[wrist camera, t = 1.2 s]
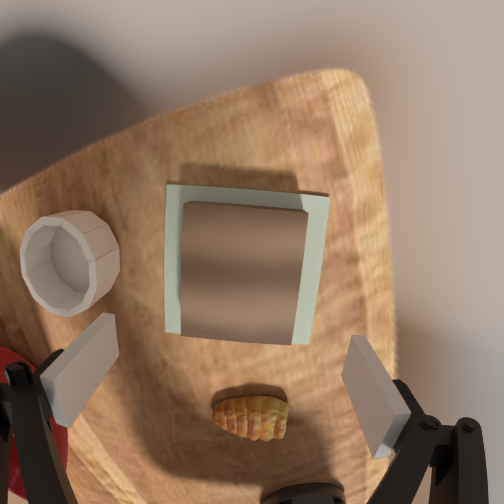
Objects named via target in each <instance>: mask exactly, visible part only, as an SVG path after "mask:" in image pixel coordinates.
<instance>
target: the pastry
mask: <svg viewBox="0 0 504 504" xmlns="http://www.w3.org/2000/svg"><path fill="white" fill-rule="evenodd" d="M288 408H289V405H288V404H287V403H286V402H284V401H282V400H279V399H277V398H276V397H273V396H271V397H268V396H263V395H259V396H246V397H238V398H230V399H226V400H224V401H221V402H219V403H217V404H216V405H215V406H214V410H213V422H214V423H215V424H217V426H219V427H220V428H222V429H224V430H226V431H227V432H228V433H234V434H236V435H237V436H239V437H246V438H248V439H250V440H253V441H254V440H257V439H261V440H262V441H264V442H268V441H270V440H271V439H273V438H278V439H282V438H283V436H284V434H285V430H286V422H287V414H288Z"/></svg>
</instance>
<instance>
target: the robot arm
mask: <svg viewBox="0 0 504 504" xmlns="http://www.w3.org/2000/svg"><path fill="white" fill-rule="evenodd" d="M118 356H119V350H118V342H117V334H116V325H115V315H114V314H110V313H104V312H103V313H102V314H100V315H99V316H98V317H97V318H96V319H95V320H94V321H93V322H92V323H91V324H90V325H89V326H88V327H87V328H86V329H85V330H84V331H83V332H82V333H81V334H80V335H79V336H78V337H77V338H76V339H75V340H74V341H73V342H72V343H71V344H70V345H69V346H68V347H67V348H66V349H65V350H63V349H59V350H57V351H55V352H53V353H52V354H51V355H50V356H49V357H48V358H47V359H46V360H45V361H44V362H43V364H41V365H40V366H39V367H38V368H37V369H36V370H35V371H34V372H33V373H32V371H31V368H30V365H29V364H28V363H27V362H24V361H15V362H11V363H10V364H8V365H7V366H6V367H5V370H4V372H5V375H6V378H7V380H8V383H1V382H0V504H7V501H8V500H7V499H8V480H9V468H10V458H11V449H12V442H13V435H14V436H15V443H16V449H17V455H18V460H19V465H20V470H21V475H22V479H23V484H24V488H25V492H26V495H27V499H28V502H29V504H78V502H77V500H76V497H75V495H74V492H73V490H72V487H71V485H70V482H69V480H68V477H67V474H66V471H65V469H64V466H63V463H62V460H61V457H60V454H59V450H58V447H57V444H56V440H55V437H54V433H53V430H52V426H51V423H50V421H49V419H50V418H51V416H52V415H53V416H54V419H55V421H56V423H57V424H59V425H62V426H65V427H68V428H71V426H72V424H73V423H74V421H75V420H76V418H77V417H78V415H79V414H80V412H81V411H82V409H83V408H84V406H85V405H86V403H87V402H88V400H89V399H90V397H91V396H92V394H93V393H94V391H95V390H96V388H97V387H98V385H99V384H100V382H101V381H102V380H103V378H104V377H105V375H106V374H107V372H108V371H109V369H110V368H111V367H112V365H113V364H114V362H115V361H116V359H117V358H118ZM341 376H342V379H343V381H344V384H345V386H346V389H347V391H348V394H349V396H350V399H351V402H352V404H353V407H354V409H355V412H356V415H357V417H358V420H359V423H360V425H361V428H362V431H363V433H364V436H365V439H366V441H367V444H368V447H369V449H370V452H371V455H372V458H373V459H376V458H383V457H389V455H390V453H391V451H392V450H393V448H394V451H395V453H396V456H395V457H394V459H393V461H392V462H391V464H390V466H389V467H388V470H387V471H386V473H385V475H384V476H383V478H382V480H381V481H380V483H379V485H378V486H377V488H376V489H375V491H374V493H373V494H372V496H371V497H370V499H369V500H368V502H367V503H366V504H411V503H412V501H413V499H414V496H415V494H416V493H417V490H418V488H419V486H420V484H421V481H422V479H423V477H424V474H425V472H426V470H427V467H432V476H431V486H430V496H429V504H489V499H488V481H487V469H486V459H485V451H484V443H483V437H482V430H481V426H480V424H479V423H478V422H477V421H476V420H474V419H472V418H468V417H463V418H461V419H459V420H458V421H457V423H456V425H455V426H449V425H441V423H440V421H439V420H438V419H436V418H435V417H433V416H430V415H425V413H424V412H423V410H422V408H421V407H420V405H419V404H418V402H417V401H416V399H415V398H414V396H413V394H412V393H411V391H410V390H409V388H408V386H407V385H406V384H405V383H403V382H402V381H401V380H399V379H397V380H392V379H391V378H390V376H389V374H388V373H387V371H386V369H385V368H384V366H383V364H382V363H381V361H380V360H379V358H378V356H377V355H376V353H375V352H374V350H373V348H372V347H371V345H370V344H369V342H368V340H367V339H366V337H365V336H364V335H352V336H351V340H350V344H349V348H348V352H347V356H346V360H345V364H344V367H343V371H342V375H341ZM262 504H346V499H345V495H344V492H343V491H342V490H341V489H340V488H339V487H336V486H333V485H329V484H304V485H297V486H292V487H288V488H285V489H282V490H279V491H277V492H275V493H273V494H271V495H269V496H268V497H267V498H266V499H265V500H264V501H263V503H262Z"/></svg>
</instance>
